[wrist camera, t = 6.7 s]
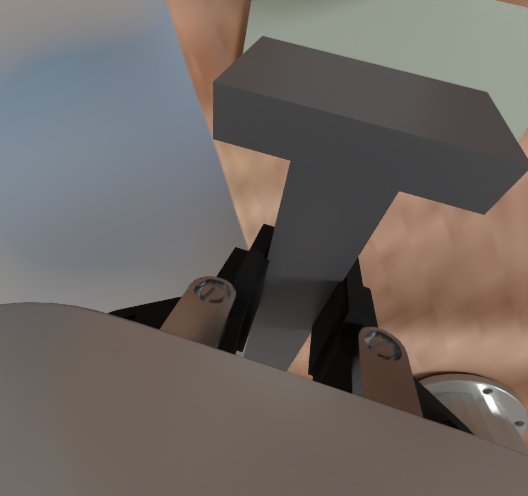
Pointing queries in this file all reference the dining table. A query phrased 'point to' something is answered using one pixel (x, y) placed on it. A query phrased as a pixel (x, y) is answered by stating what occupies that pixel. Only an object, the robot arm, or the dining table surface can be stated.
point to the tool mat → (415, 40)
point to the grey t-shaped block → (350, 165)
